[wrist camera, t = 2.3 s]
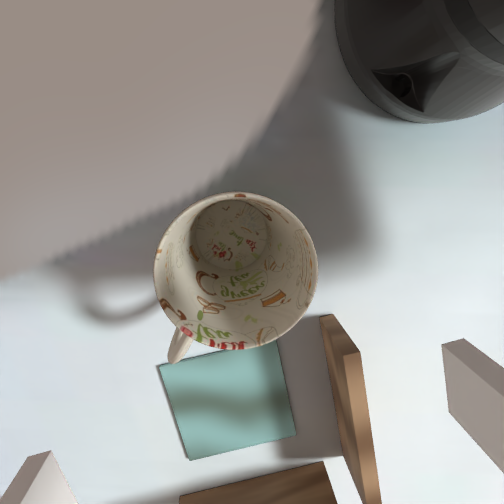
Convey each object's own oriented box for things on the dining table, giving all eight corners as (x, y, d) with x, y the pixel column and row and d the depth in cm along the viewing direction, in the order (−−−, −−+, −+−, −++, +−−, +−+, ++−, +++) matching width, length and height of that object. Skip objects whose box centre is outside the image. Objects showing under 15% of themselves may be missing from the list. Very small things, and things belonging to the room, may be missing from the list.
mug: (304, 212, 27) (349, 242, 18) (229, 343, 30) (232, 432, 20) (207, 159, 26) (199, 159, 16) (136, 302, 28) (91, 378, 18)
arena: (132, 360, 29) (111, 410, 23) (333, 314, 30) (360, 351, 24) (183, 505, 34) (175, 577, 28) (357, 463, 34) (384, 525, 28)
